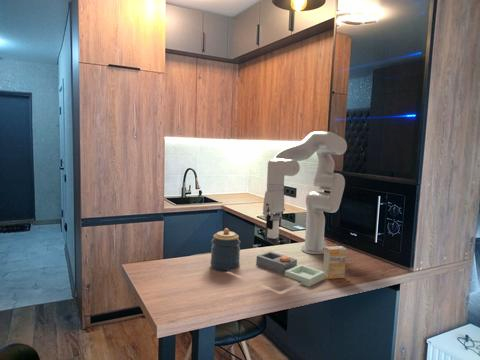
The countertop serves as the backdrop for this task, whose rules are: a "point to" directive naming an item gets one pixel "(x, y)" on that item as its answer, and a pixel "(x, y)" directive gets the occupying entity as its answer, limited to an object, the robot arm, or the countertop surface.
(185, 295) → the countertop surface
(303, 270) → the tray
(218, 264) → the canister
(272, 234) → the cartridge
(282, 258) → the brown egg
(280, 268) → the housing
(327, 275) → the supplement box
